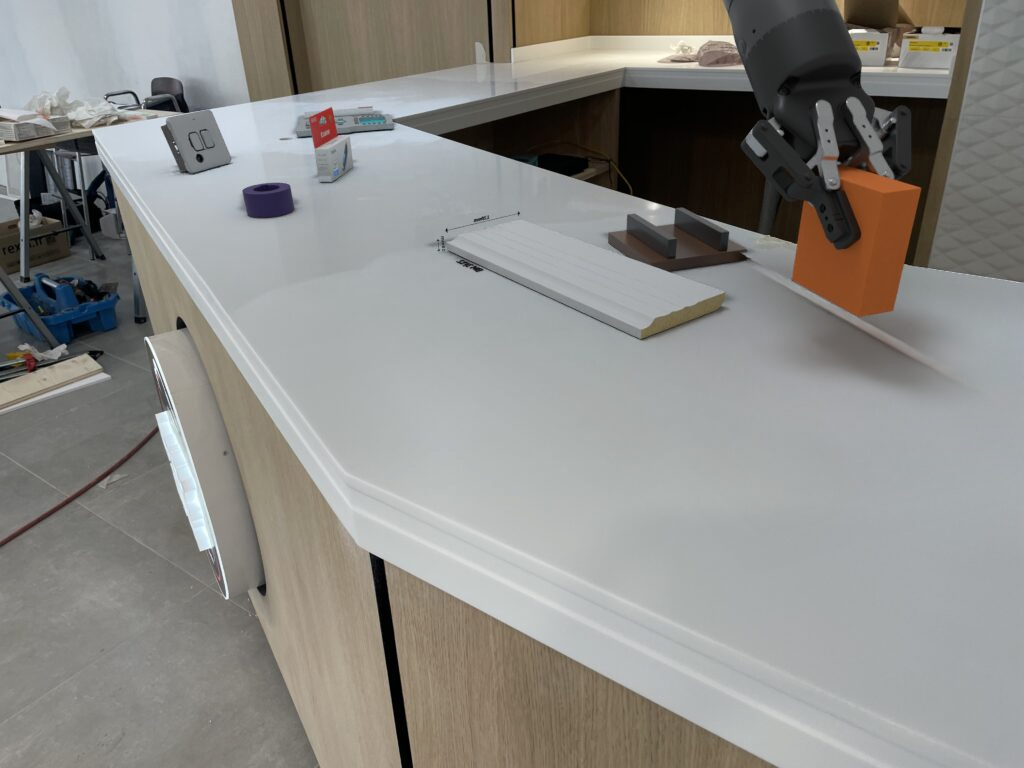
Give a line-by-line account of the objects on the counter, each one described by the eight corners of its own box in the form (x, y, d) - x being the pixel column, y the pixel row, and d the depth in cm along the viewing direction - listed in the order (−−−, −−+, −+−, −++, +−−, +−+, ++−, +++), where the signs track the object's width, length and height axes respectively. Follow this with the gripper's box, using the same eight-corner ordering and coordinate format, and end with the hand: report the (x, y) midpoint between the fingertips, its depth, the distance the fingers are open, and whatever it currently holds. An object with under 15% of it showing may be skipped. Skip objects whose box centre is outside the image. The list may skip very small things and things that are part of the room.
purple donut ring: (298, 213, 99) (294, 189, 98) (250, 220, 97) (245, 196, 96) (282, 194, 109) (278, 172, 108) (238, 200, 107) (233, 178, 105)
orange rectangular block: (822, 275, 60) (842, 163, 56) (893, 311, 53) (922, 187, 49) (791, 280, 59) (808, 167, 55) (858, 317, 53) (884, 192, 48)
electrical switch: (192, 174, 123) (174, 116, 119) (171, 175, 125) (153, 118, 121) (233, 163, 130) (218, 108, 126) (213, 164, 133) (198, 110, 128)
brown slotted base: (694, 231, 86) (696, 204, 85) (745, 260, 77) (749, 230, 75) (607, 242, 84) (608, 215, 82) (650, 274, 74) (652, 243, 73)
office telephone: (299, 109, 168) (386, 103, 172) (301, 121, 169) (387, 115, 173) (294, 124, 148) (393, 117, 151) (296, 137, 149) (394, 130, 153)
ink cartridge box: (354, 166, 124) (346, 105, 119) (333, 182, 114) (323, 117, 110) (340, 167, 124) (331, 106, 119) (317, 183, 115) (307, 117, 110)
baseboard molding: (628, 345, 60) (723, 308, 66) (629, 312, 59) (727, 277, 65) (435, 253, 83) (520, 231, 89) (433, 227, 81) (519, 207, 87)
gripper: (733, 10, 51) (816, 227, 47) (899, -1, 55) (992, 201, 50) (690, 83, 58) (759, 277, 54) (840, 69, 62) (916, 252, 57)
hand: (871, 240), depth 52 cm, fingers closed on orange rectangular block, 3 cm apart
